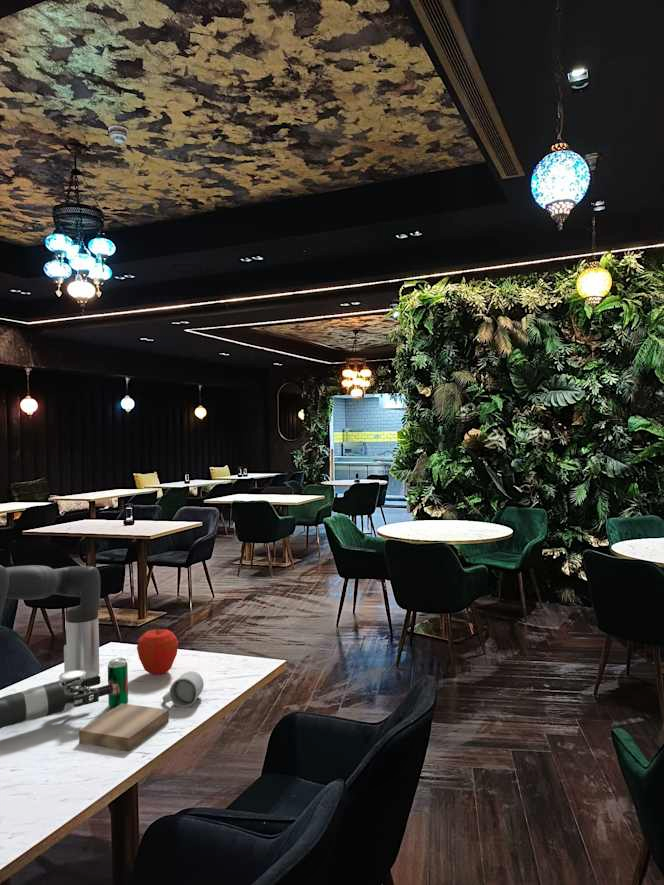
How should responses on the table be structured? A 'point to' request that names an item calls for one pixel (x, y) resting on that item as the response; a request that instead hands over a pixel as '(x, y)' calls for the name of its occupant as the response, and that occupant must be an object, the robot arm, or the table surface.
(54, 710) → the robot arm
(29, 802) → the table surface
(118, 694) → the soda can
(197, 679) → the ceramic mug
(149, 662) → the apple
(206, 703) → the table surface
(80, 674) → the white cup
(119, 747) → the walnut plate
